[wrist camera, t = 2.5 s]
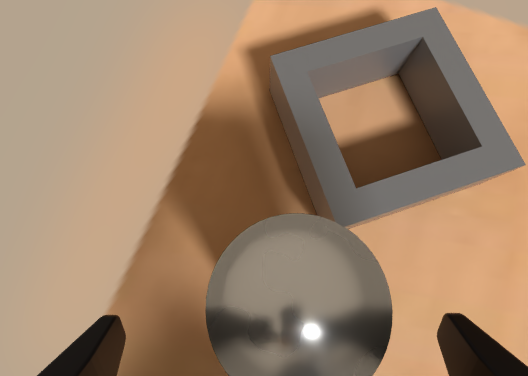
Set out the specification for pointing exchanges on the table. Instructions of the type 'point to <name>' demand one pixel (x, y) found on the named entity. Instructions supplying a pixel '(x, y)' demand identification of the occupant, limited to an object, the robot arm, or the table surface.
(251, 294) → the steel shaft
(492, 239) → the table surface
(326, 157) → the grey square frame
